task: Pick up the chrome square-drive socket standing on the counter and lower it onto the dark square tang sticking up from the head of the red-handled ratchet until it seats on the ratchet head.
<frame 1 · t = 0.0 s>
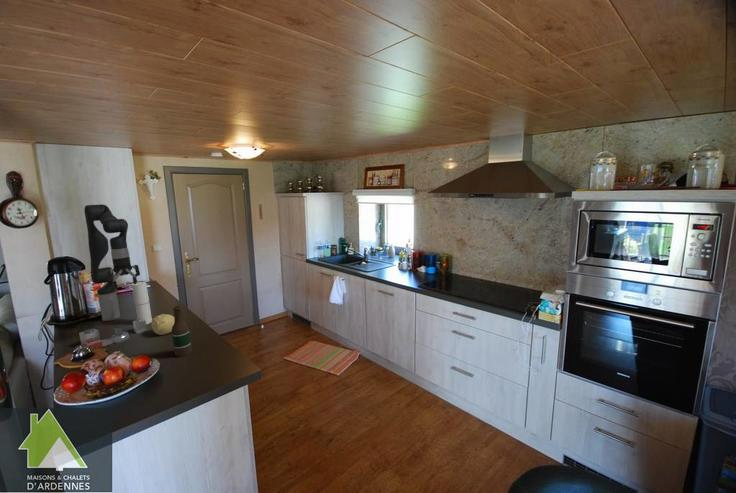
hand: (125, 285, 179), 29 cm above the countertop, fingers open, 8 cm apart
cylindrical container: (145, 322, 204), on the countertop
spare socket: (91, 343, 177), on the countertop
socket: (140, 330, 192), on the countertop
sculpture: (165, 332, 188), on the countertop
ratchet: (120, 340, 180), on the countertop
beer bottle: (183, 353, 163), on the countertop
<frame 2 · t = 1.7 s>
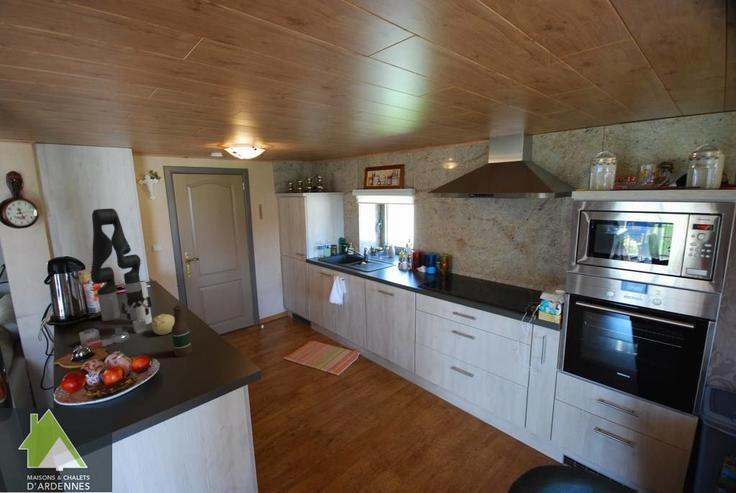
hand: (138, 317, 190), 8 cm above the countertop, fingers open, 8 cm apart
nothing on the countertop moved.
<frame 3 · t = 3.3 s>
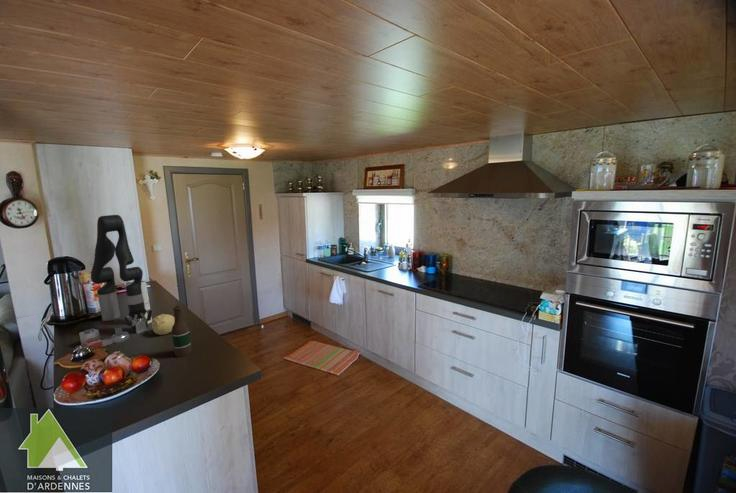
hand: (140, 329, 192), 1 cm above the countertop, fingers closed on socket, 5 cm apart
socket: (140, 330, 192), on the countertop, touching gripper
everything else where it was.
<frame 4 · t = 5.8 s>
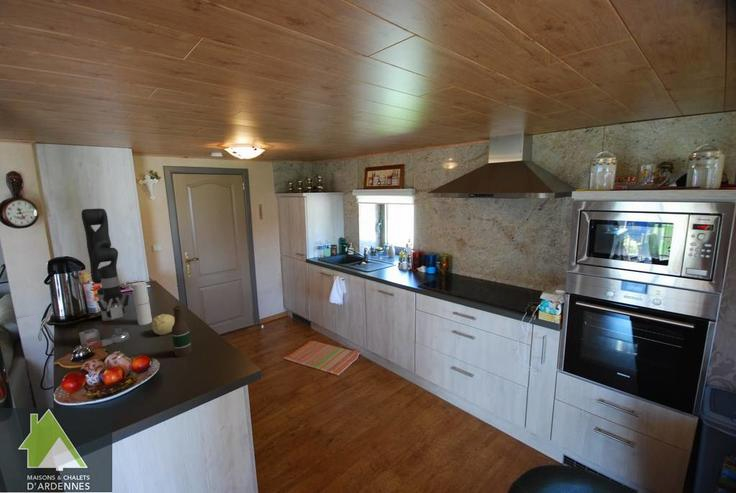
hand: (116, 315, 178), 14 cm above the countertop, fingers closed on socket, 5 cm apart
socket: (116, 316, 178), point 13 cm above the countertop, touching gripper
everything else where it was.
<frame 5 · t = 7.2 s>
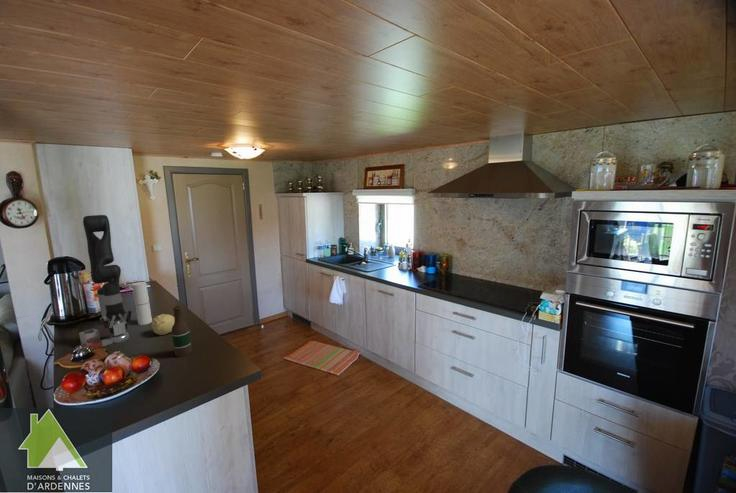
hand: (118, 331, 180), 5 cm above the countertop, fingers closed on socket, 5 cm apart
socket: (119, 332, 180), point 4 cm above the countertop, touching gripper
everything else where it was.
when the fingers open (4 cm above the countertop, at t = 8.4 s): socket stays where it is, resting on ratchet.
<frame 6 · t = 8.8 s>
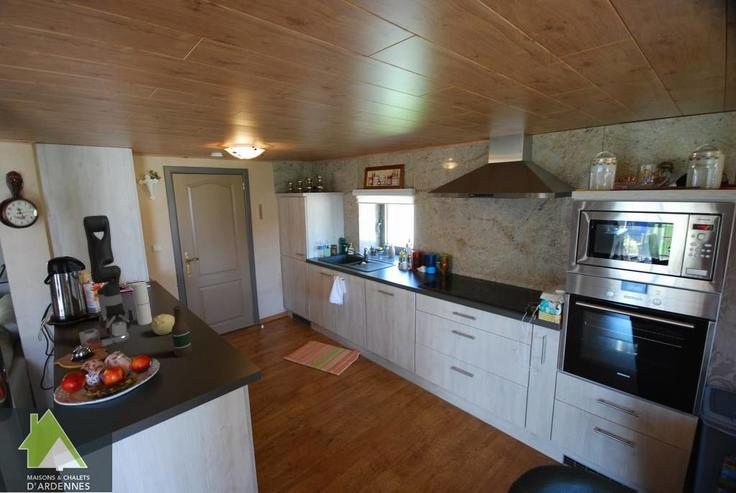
hand: (118, 331, 180), 5 cm above the countertop, fingers open, 8 cm apart
socket: (119, 334, 180), point 3 cm above the countertop, tilted 7°, touching ratchet
everything else where it was.
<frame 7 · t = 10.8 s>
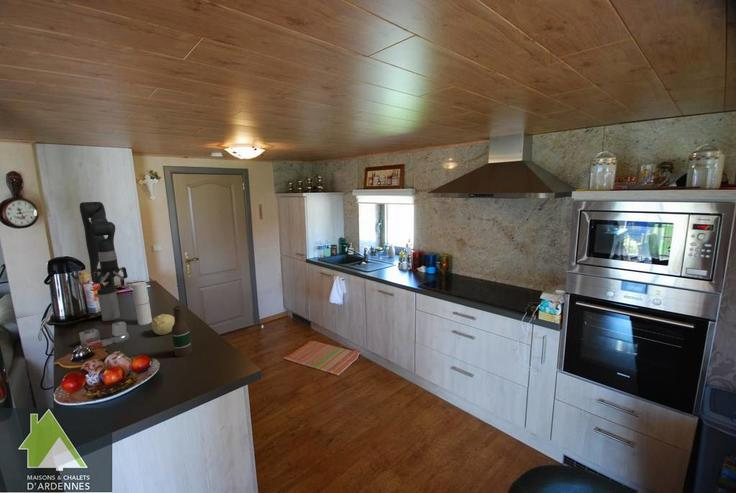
hand: (113, 287, 181), 28 cm above the countertop, fingers open, 8 cm apart
nothing on the countertop moved.
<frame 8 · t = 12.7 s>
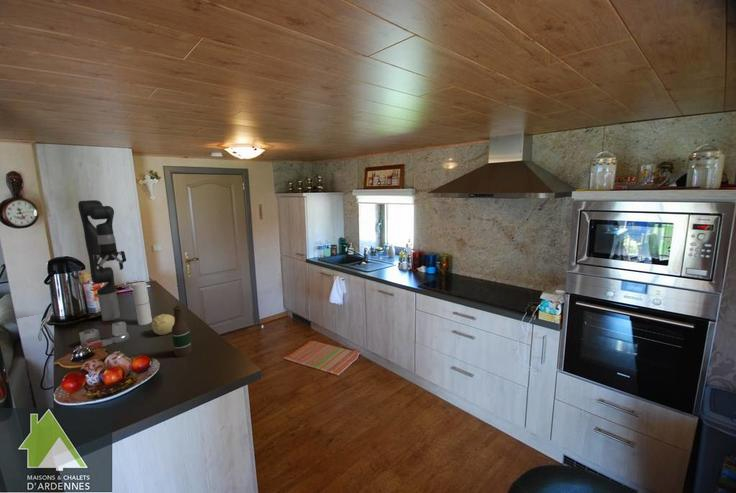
hand: (112, 271, 185), 36 cm above the countertop, fingers open, 8 cm apart
nothing on the countertop moved.
at the end: socket 0.0 cm from the ratchet (horizontally); socket point 3.3 cm above the countertop; the gripper is holding nothing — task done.
